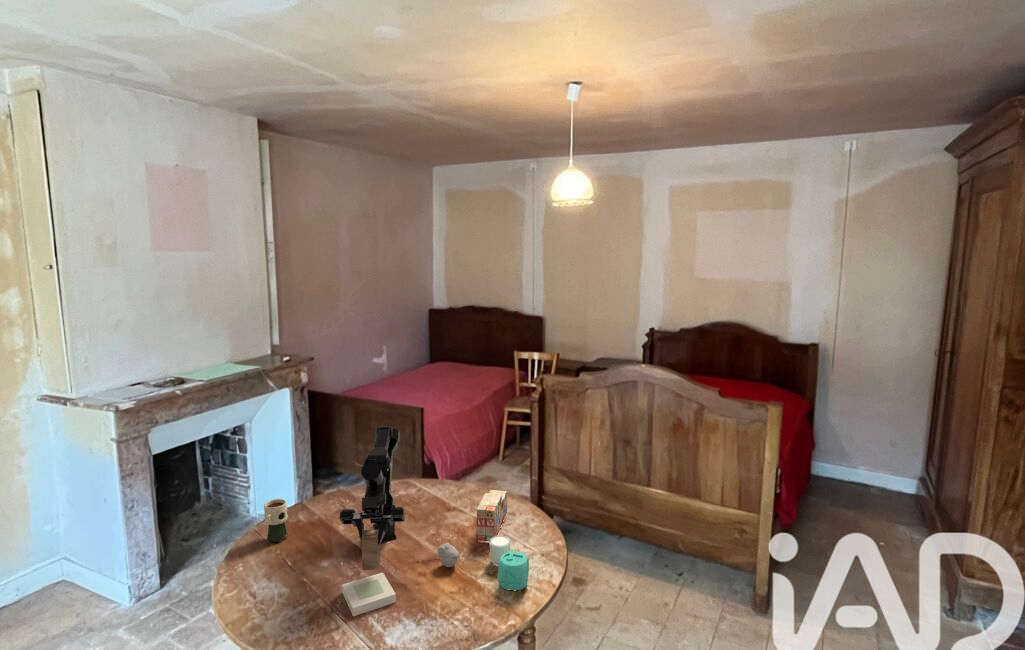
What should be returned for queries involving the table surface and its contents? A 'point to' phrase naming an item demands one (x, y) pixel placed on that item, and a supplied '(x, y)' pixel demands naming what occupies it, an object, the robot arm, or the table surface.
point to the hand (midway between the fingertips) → (370, 545)
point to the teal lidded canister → (513, 570)
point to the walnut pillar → (370, 549)
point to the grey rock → (448, 554)
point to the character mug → (276, 519)
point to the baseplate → (368, 594)
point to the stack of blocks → (491, 514)
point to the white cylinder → (499, 547)
